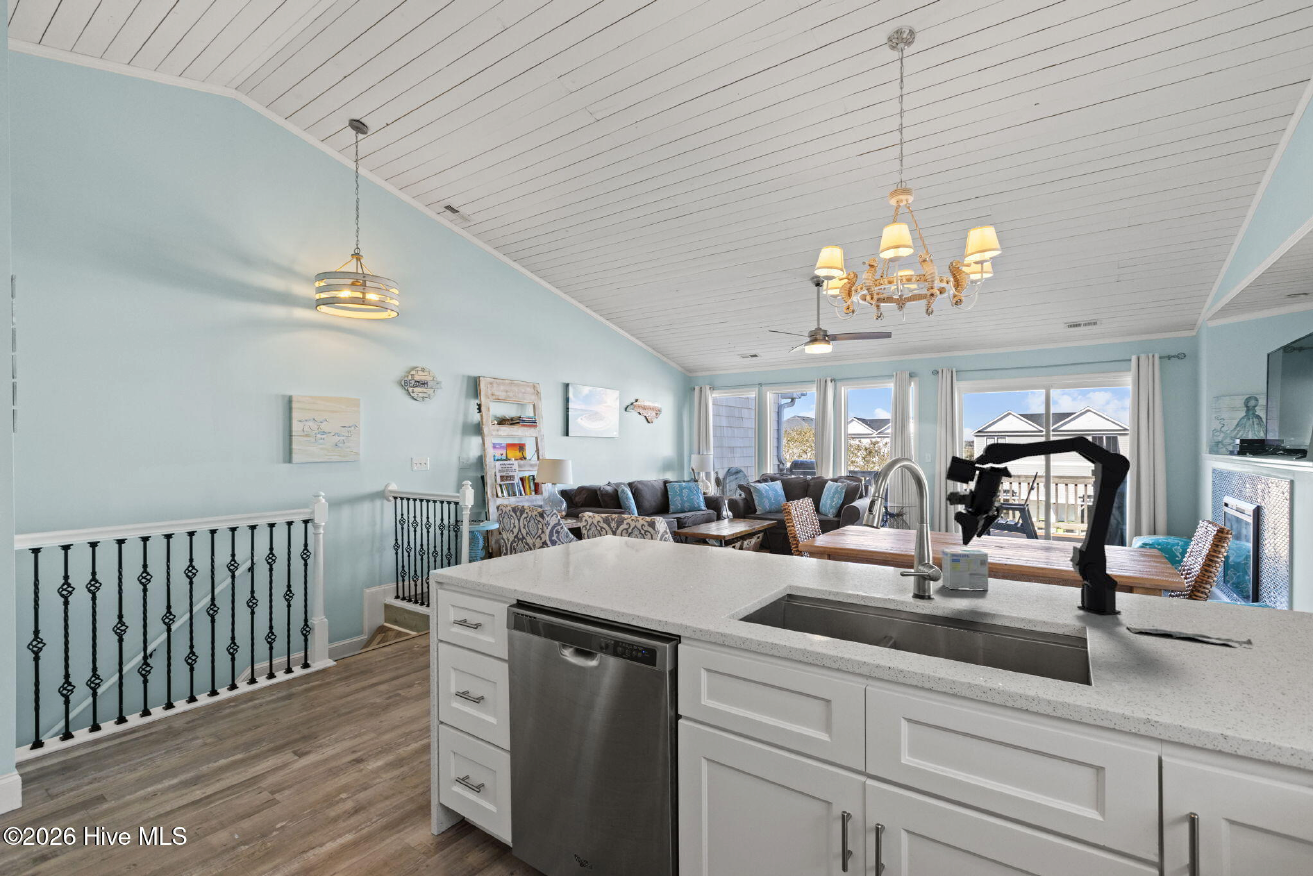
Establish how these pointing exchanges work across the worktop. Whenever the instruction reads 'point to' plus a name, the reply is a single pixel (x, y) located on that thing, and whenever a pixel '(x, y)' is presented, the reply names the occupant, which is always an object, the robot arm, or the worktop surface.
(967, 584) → the light bulb box
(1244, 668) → the worktop surface
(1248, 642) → the driftwood
